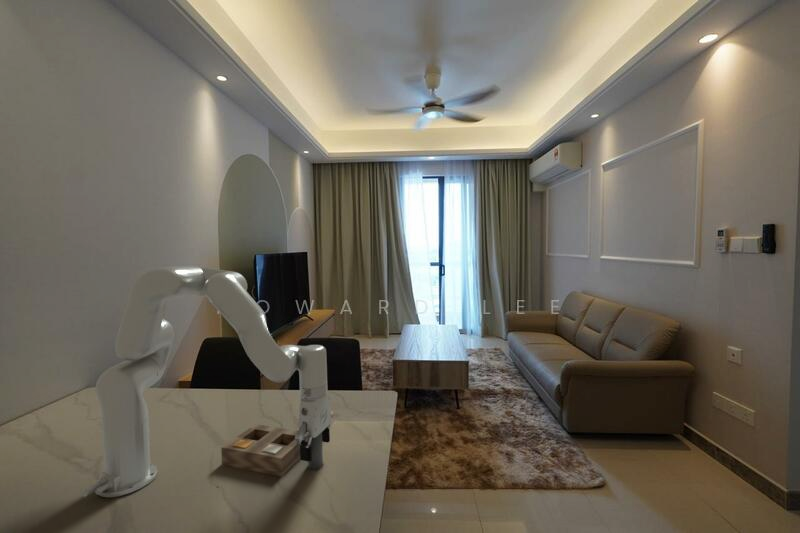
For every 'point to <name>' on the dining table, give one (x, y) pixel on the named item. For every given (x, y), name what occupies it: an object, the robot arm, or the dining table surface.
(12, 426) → the dining table surface
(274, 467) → the socket block
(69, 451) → the dining table surface
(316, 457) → the plug
